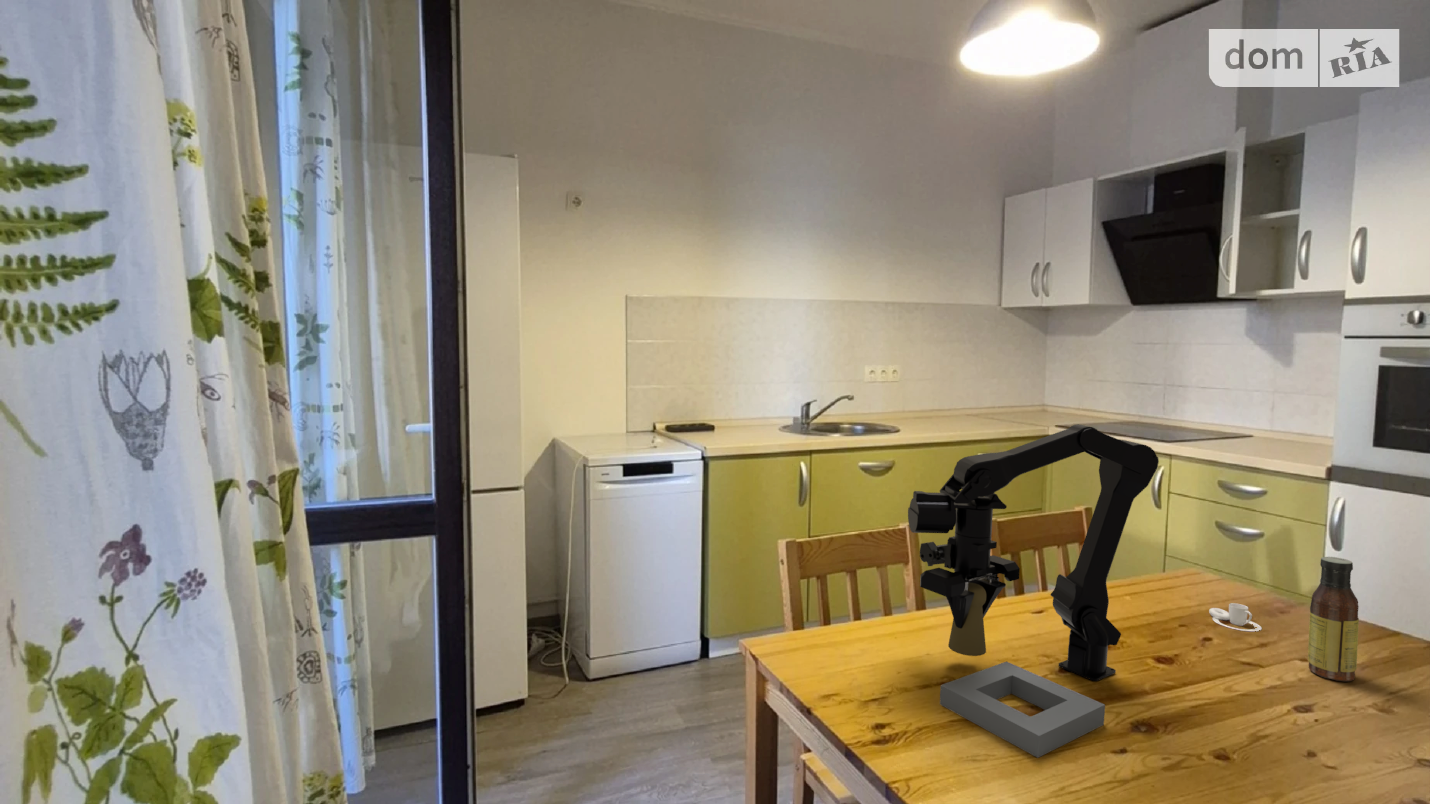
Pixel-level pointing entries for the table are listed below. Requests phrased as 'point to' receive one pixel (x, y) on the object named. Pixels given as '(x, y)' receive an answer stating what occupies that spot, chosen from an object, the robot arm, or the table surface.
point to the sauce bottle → (1334, 623)
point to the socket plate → (1033, 734)
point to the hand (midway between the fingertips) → (968, 624)
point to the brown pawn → (971, 627)
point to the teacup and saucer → (1234, 616)
